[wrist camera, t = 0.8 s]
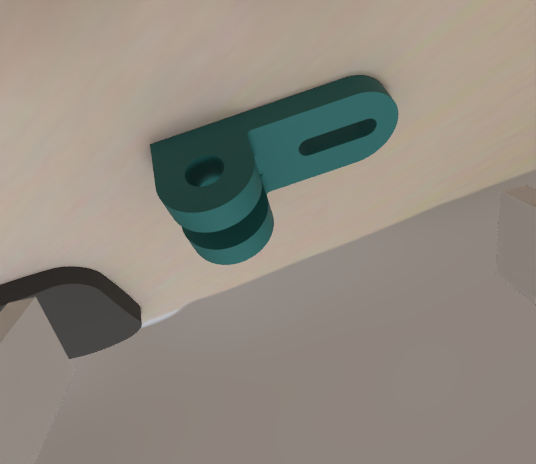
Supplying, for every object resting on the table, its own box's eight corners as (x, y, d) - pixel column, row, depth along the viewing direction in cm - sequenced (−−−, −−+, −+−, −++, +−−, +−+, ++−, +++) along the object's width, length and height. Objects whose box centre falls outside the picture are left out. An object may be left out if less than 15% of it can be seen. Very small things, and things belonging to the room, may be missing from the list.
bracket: (184, 199, 34) (198, 276, 29) (149, 142, 28) (160, 226, 24) (383, 131, 34) (428, 199, 29) (387, 61, 28) (443, 131, 24)
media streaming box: (83, 253, 36) (83, 281, 35) (151, 312, 48) (153, 334, 47) (-65, 303, 36) (-73, 333, 35) (39, 349, 48) (37, 373, 47)
